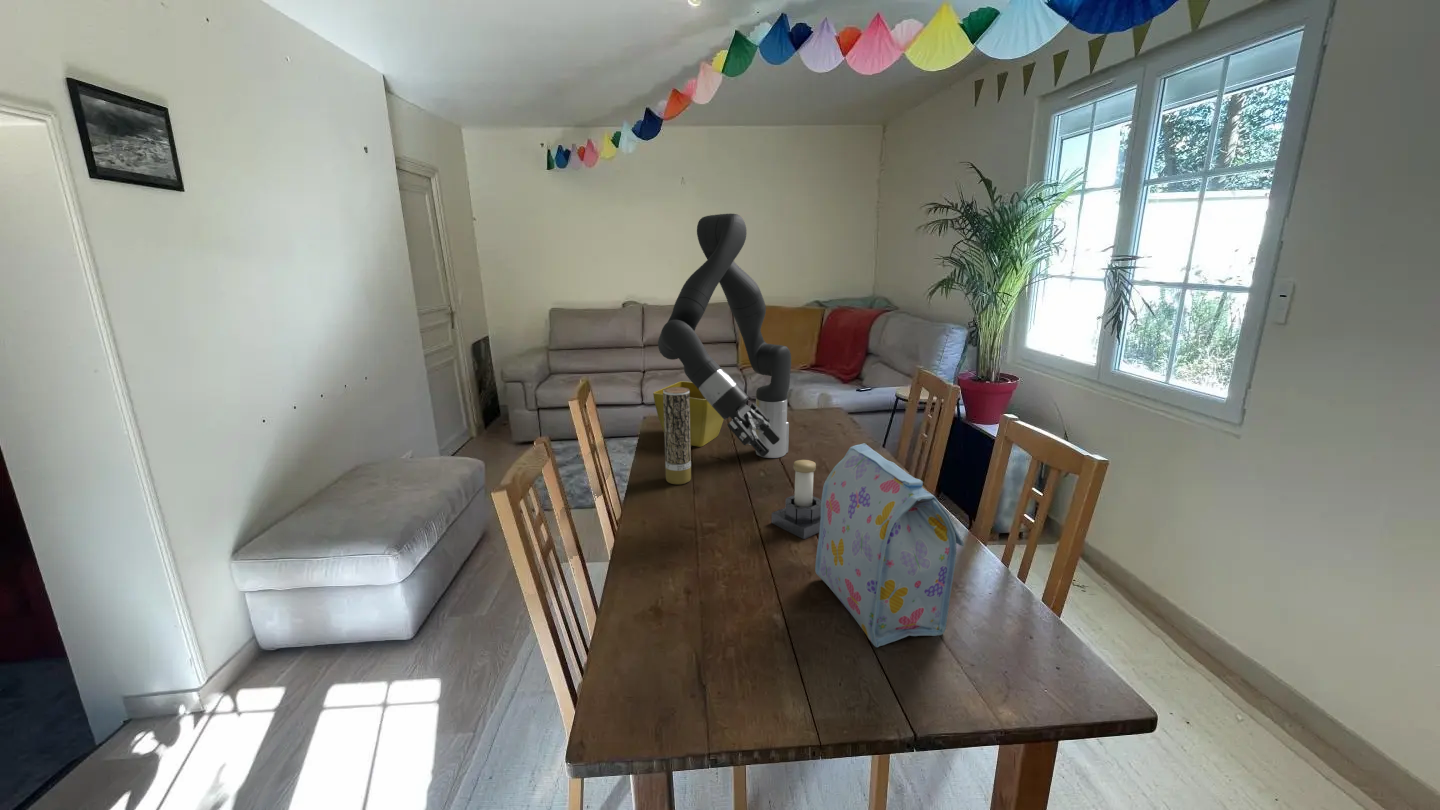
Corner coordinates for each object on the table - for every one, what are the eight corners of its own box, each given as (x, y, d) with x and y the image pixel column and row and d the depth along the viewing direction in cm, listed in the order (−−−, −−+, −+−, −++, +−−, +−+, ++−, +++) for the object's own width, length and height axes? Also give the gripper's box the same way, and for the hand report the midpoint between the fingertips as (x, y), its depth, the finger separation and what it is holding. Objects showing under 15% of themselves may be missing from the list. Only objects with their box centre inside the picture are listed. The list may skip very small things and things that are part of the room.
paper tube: (692, 476, 160) (691, 387, 154) (689, 486, 153) (687, 393, 147) (668, 475, 161) (665, 386, 154) (663, 485, 154) (660, 393, 148)
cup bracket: (802, 510, 139) (802, 489, 137) (834, 525, 131) (835, 503, 130) (771, 522, 133) (771, 500, 131) (803, 539, 125) (804, 515, 124)
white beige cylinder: (802, 507, 135) (804, 458, 132) (818, 514, 131) (820, 464, 128) (787, 513, 132) (789, 463, 129) (803, 520, 128) (805, 469, 125)
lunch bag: (964, 635, 94) (983, 482, 87) (871, 656, 89) (883, 495, 82) (887, 565, 115) (897, 437, 108) (809, 579, 110) (814, 446, 103)
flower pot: (731, 434, 196) (731, 385, 191) (706, 452, 179) (706, 399, 175) (681, 427, 203) (680, 380, 199) (653, 444, 187) (651, 393, 182)
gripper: (723, 390, 123) (775, 448, 122) (744, 376, 136) (791, 428, 135) (700, 412, 126) (750, 468, 125) (723, 396, 139) (769, 447, 138)
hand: (771, 447), depth 130 cm, fingers open, 8 cm apart
